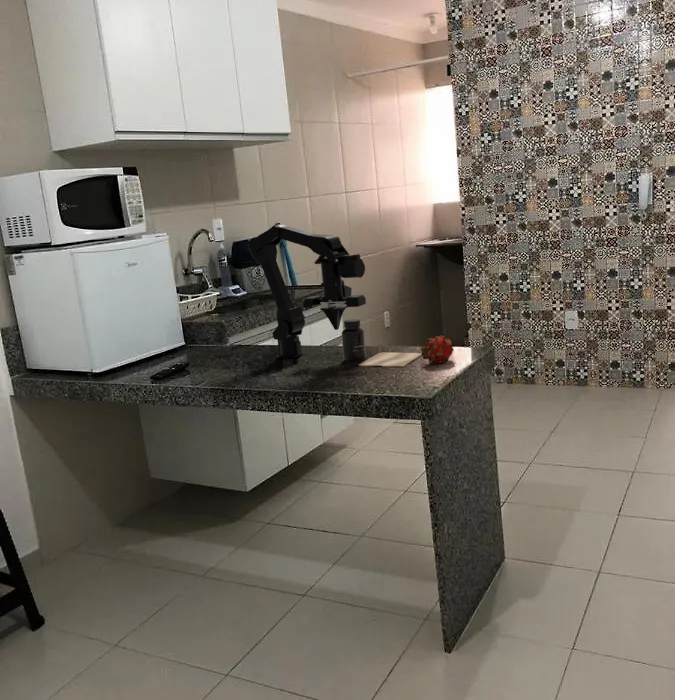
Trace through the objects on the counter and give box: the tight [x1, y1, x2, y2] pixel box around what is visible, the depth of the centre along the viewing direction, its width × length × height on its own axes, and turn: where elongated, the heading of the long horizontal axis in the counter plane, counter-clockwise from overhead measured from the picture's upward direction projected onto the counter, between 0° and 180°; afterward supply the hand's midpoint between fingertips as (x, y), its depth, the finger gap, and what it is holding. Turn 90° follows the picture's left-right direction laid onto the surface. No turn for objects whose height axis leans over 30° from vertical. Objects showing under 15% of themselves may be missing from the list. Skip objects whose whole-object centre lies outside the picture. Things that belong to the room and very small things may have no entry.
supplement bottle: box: [341, 318, 367, 362], centre depth 224 cm, size 7×7×12 cm
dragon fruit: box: [420, 335, 454, 365], centre depth 211 cm, size 8×8×12 cm
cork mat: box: [358, 351, 423, 368], centre depth 220 cm, size 14×16×1 cm
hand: (336, 329), depth 226 cm, fingers closed
